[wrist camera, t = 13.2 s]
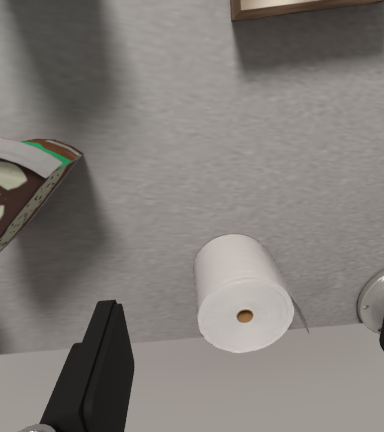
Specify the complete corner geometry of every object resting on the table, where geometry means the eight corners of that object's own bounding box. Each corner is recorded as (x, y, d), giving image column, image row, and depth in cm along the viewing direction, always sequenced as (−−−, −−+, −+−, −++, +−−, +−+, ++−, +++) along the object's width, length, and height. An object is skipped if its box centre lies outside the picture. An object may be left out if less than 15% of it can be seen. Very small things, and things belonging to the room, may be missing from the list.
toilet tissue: (184, 243, 41) (186, 289, 32) (272, 222, 41) (300, 263, 32) (202, 305, 46) (209, 361, 36) (283, 287, 45) (310, 339, 36)
